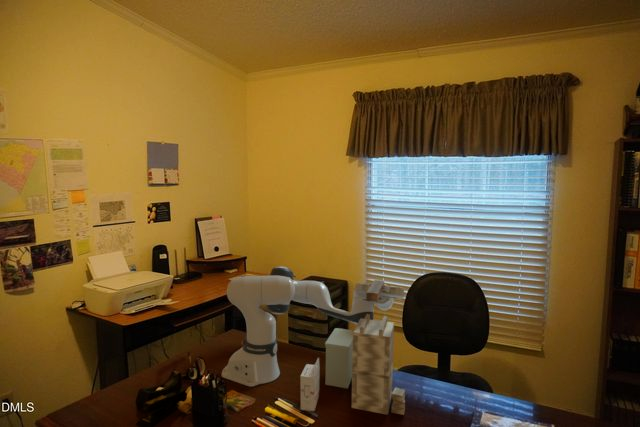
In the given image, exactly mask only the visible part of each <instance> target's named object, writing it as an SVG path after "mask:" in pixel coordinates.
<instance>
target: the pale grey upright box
mask: <svg viewBox="0 0 640 427" xmlns="http://www.w3.org/2000/svg"><path fill="white" fill-rule="evenodd" d="M354 330H355V329H354ZM354 330H352V329H345V328H340V327H339V328H338V327H337V328H336V327H335V328H334V329H333V331H332V332H331V334H330V335H329V336H328V338H327V340H326V341H325V343H324V346H325V380H324V381H325V383H324V384H325V385H326V386H331V387H332V386H333V387H336V388H337V387H338V388H342V389H349V386H350V384H351V382H352V360H353V331H354Z"/></svg>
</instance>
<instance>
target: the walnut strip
mask: <svg viewBox="0 0 640 427" xmlns="http://www.w3.org/2000/svg"><path fill="white" fill-rule="evenodd" d="M371 284H372V285H371V286H370V288H369V289H368V291H367V296H366V300H367V301H376V302H377V301H378V299H379V297H380V295H381V293H382V291H383V289H382V287H383V285H384V284H385V280H379V279H374V280H373V282H372V283H371Z"/></svg>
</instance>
